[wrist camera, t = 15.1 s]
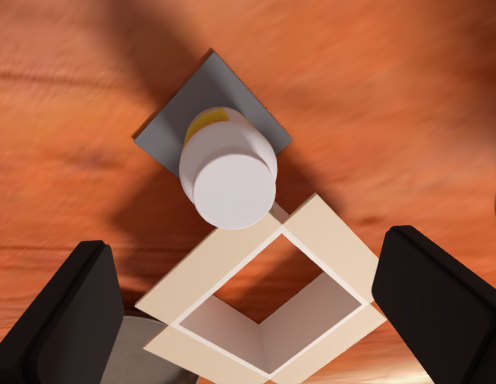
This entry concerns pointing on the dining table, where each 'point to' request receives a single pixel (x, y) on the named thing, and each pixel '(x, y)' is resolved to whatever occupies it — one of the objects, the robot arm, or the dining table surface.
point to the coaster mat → (198, 100)
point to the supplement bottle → (228, 169)
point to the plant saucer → (141, 356)
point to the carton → (278, 323)
